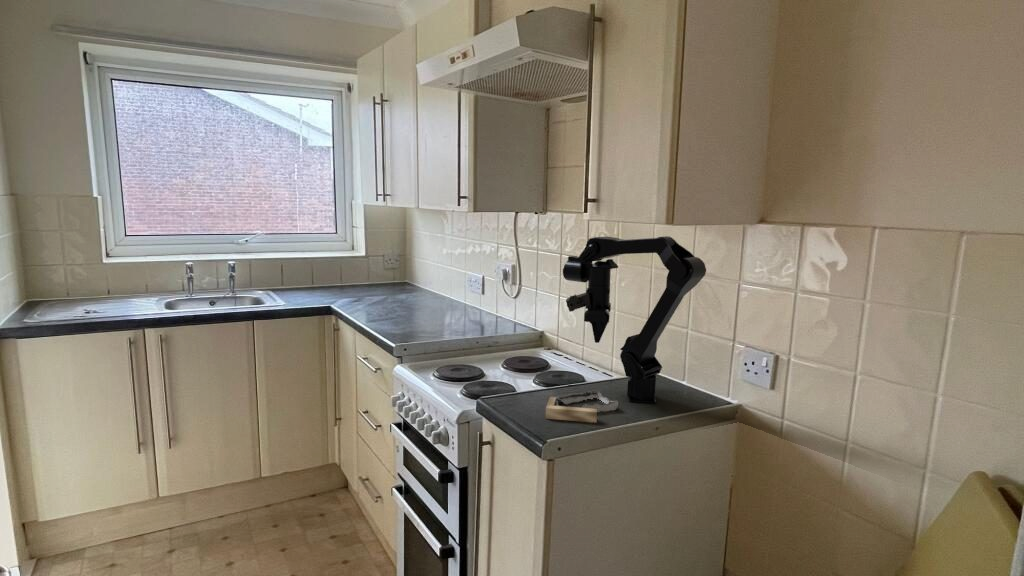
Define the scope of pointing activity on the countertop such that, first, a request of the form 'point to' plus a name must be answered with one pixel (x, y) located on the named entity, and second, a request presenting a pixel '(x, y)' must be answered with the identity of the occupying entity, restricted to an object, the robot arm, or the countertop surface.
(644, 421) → the countertop surface
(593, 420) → the oak fence
